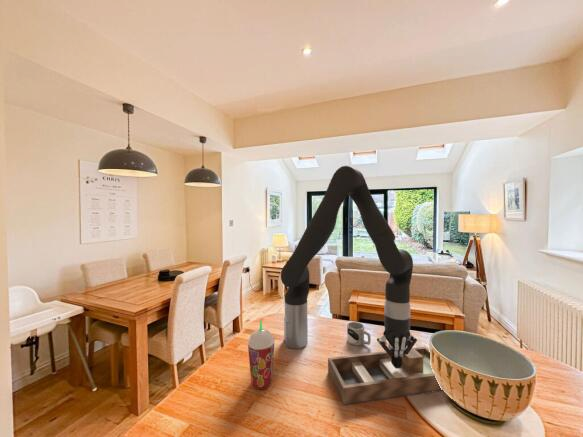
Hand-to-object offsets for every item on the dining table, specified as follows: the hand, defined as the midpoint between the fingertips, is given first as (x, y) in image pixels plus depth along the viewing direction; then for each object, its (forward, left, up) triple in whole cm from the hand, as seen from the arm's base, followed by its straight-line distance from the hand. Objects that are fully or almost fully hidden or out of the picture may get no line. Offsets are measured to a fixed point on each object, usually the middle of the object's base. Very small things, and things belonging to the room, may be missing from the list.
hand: (396, 366), depth 79 cm
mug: (-2, +22, -5) cm, 23 cm away
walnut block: (+5, 0, -1) cm, 5 cm away
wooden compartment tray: (-2, 0, -4) cm, 5 cm away
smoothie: (-42, +6, -4) cm, 43 cm away
